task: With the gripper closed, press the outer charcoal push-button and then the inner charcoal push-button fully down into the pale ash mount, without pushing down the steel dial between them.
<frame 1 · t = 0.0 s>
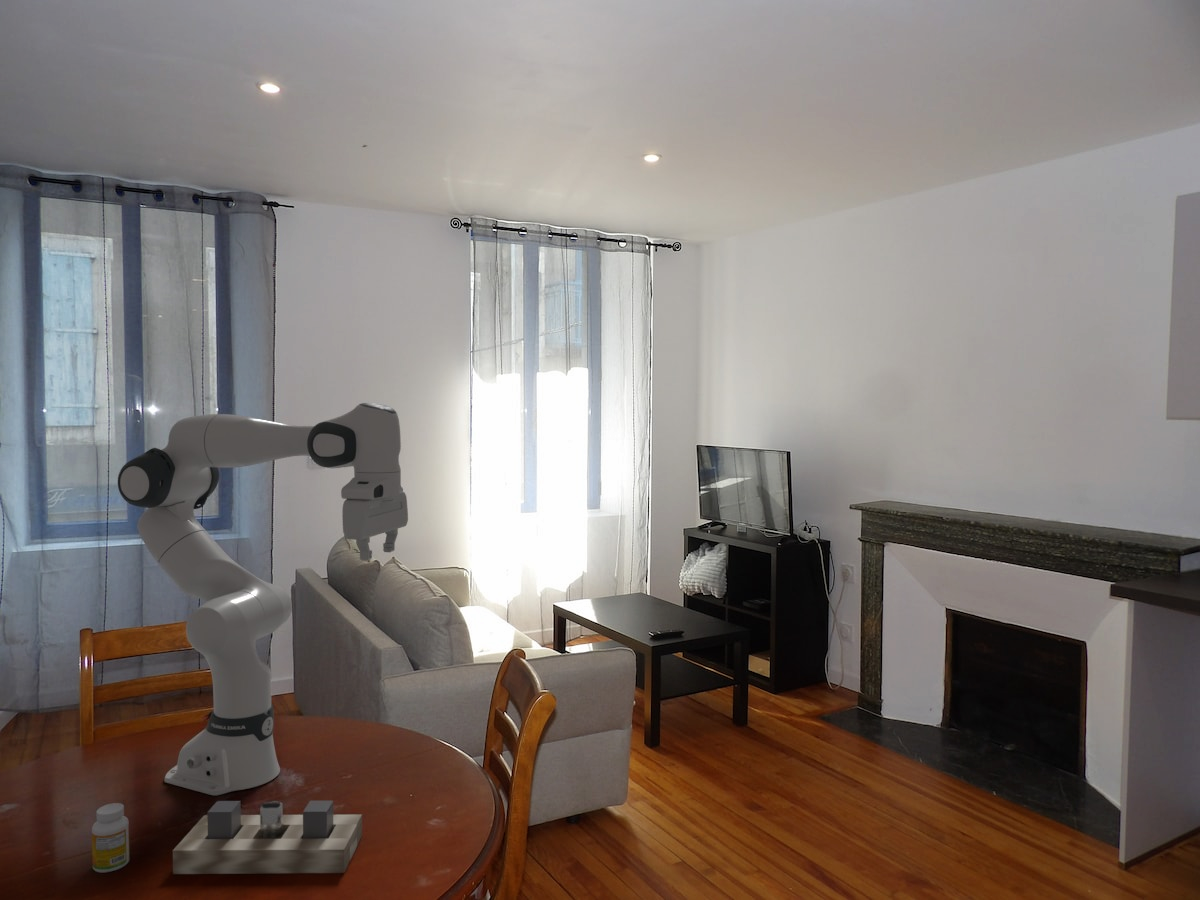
hand: (377, 555, 166), 48 cm above the table, tool pointing down, fingers open, 8 cm apart
steel dial: (271, 818, 145), point 6 cm above the table, slide at 0.0 cm
mount: (271, 854, 146), on the table
supplement bottle: (111, 865, 142), on the table
outer button: (318, 820, 146), point 6 cm above the table, slide at 0.0 cm
inner button: (224, 820, 145), point 6 cm above the table, slide at 0.0 cm
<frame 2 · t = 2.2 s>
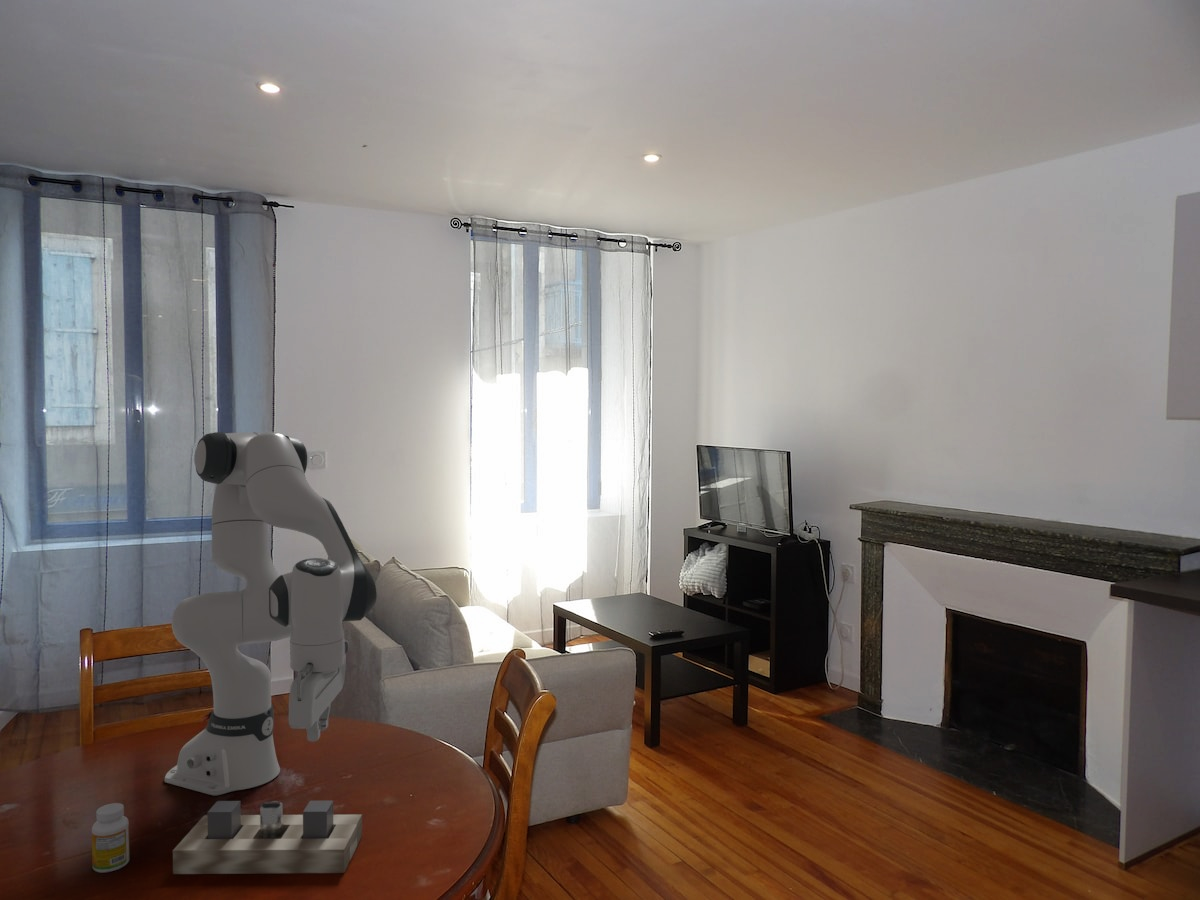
hand: (317, 734, 145), 21 cm above the table, tool pointing down, fingers open, 3 cm apart
nothing on the table moved.
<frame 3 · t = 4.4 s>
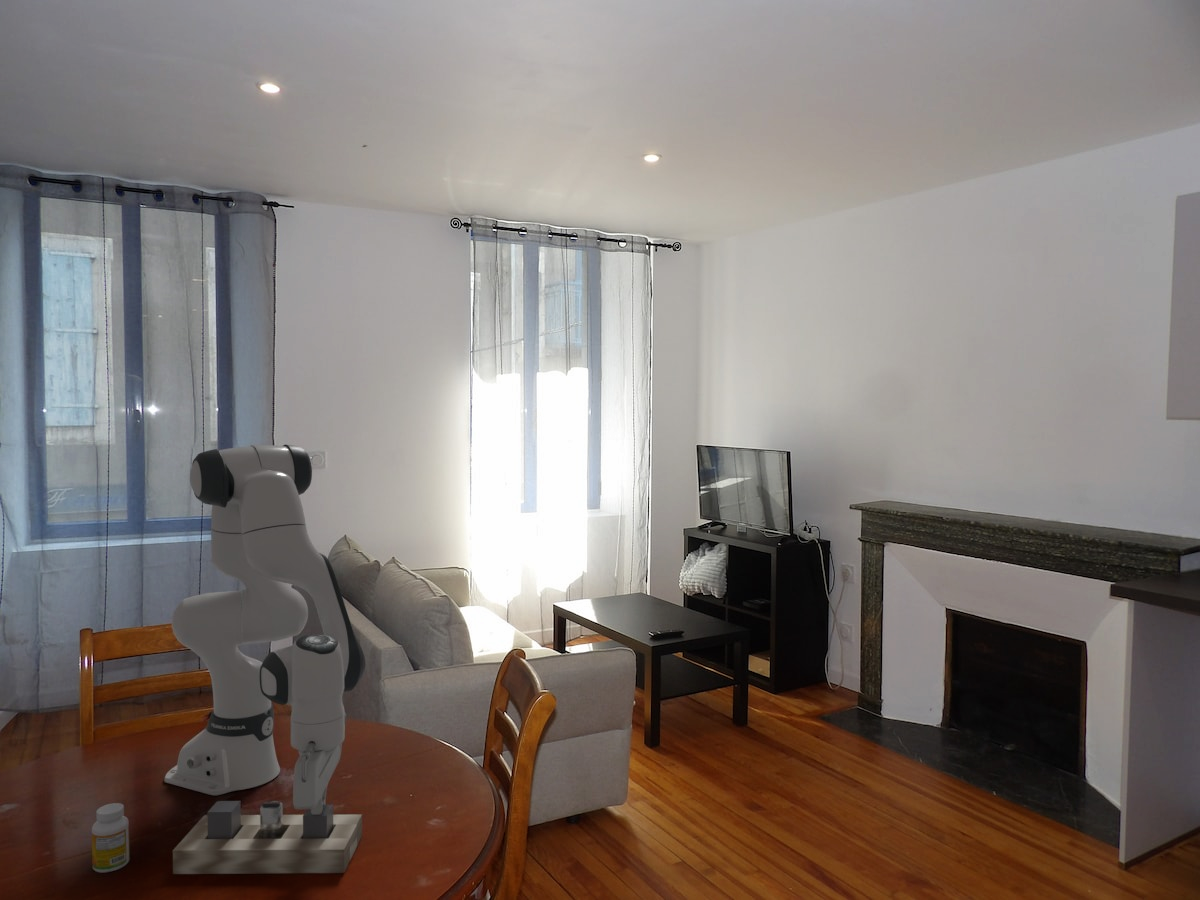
hand: (318, 810, 145), 8 cm above the table, tool pointing down, fingers closed
outer button: (318, 824, 146), point 5 cm above the table, slide at 0.7 cm, touching gripper
everything else where it was.
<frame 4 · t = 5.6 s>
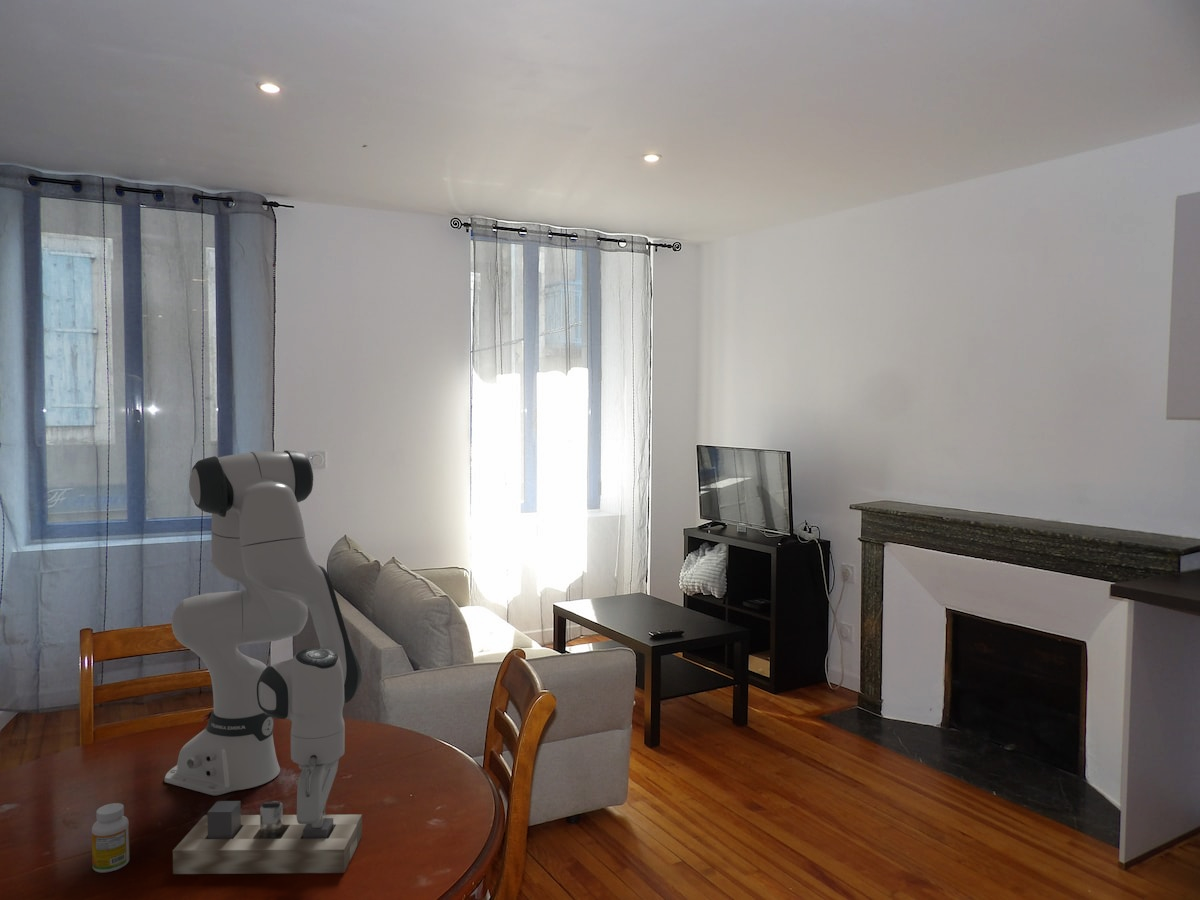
hand: (318, 823, 146), 5 cm above the table, tool pointing down, fingers closed
outer button: (318, 837, 146), point 3 cm above the table, slide at 3.2 cm
everything else where it was.
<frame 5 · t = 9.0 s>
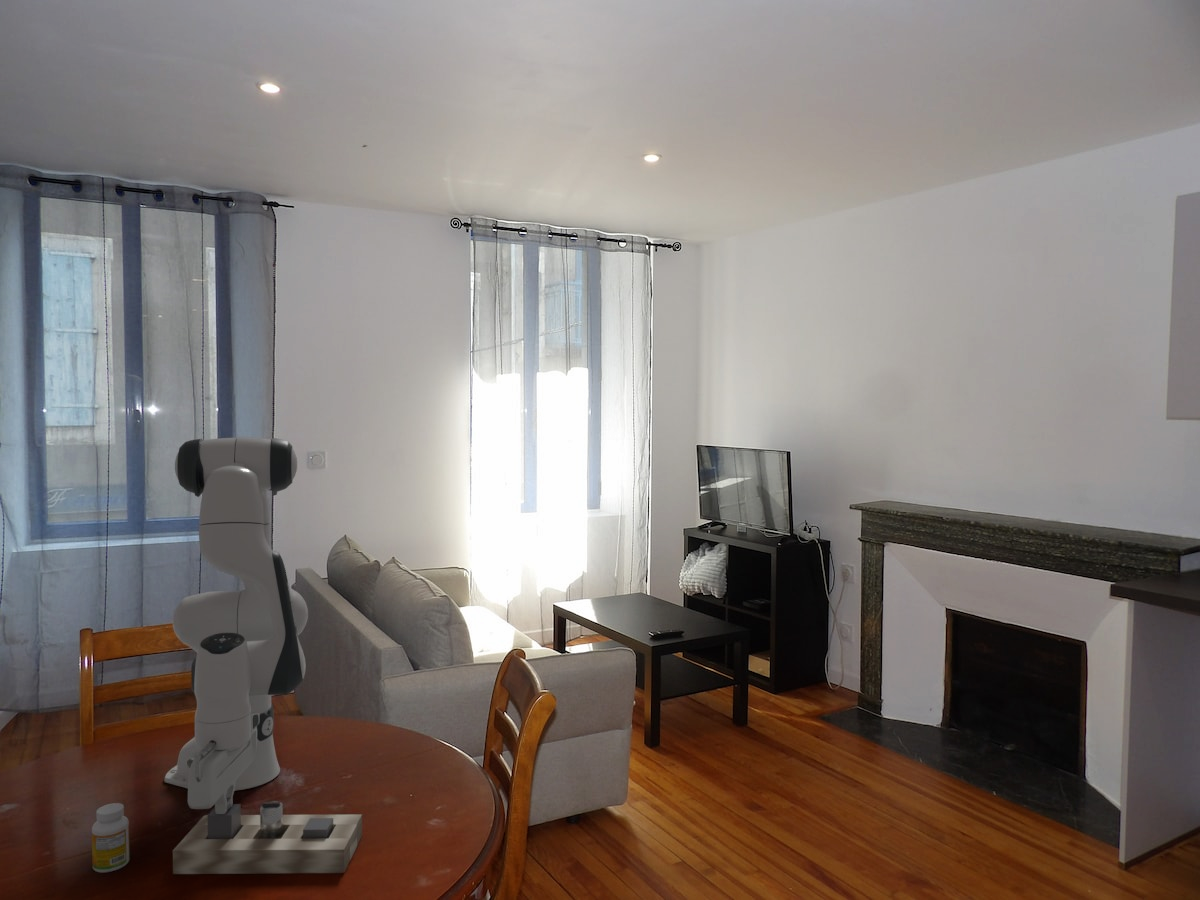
hand: (224, 810, 145), 8 cm above the table, tool pointing down, fingers closed, pressing on inner button
inner button: (224, 823, 145), point 5 cm above the table, slide at 0.6 cm, touching gripper
everything else where it was.
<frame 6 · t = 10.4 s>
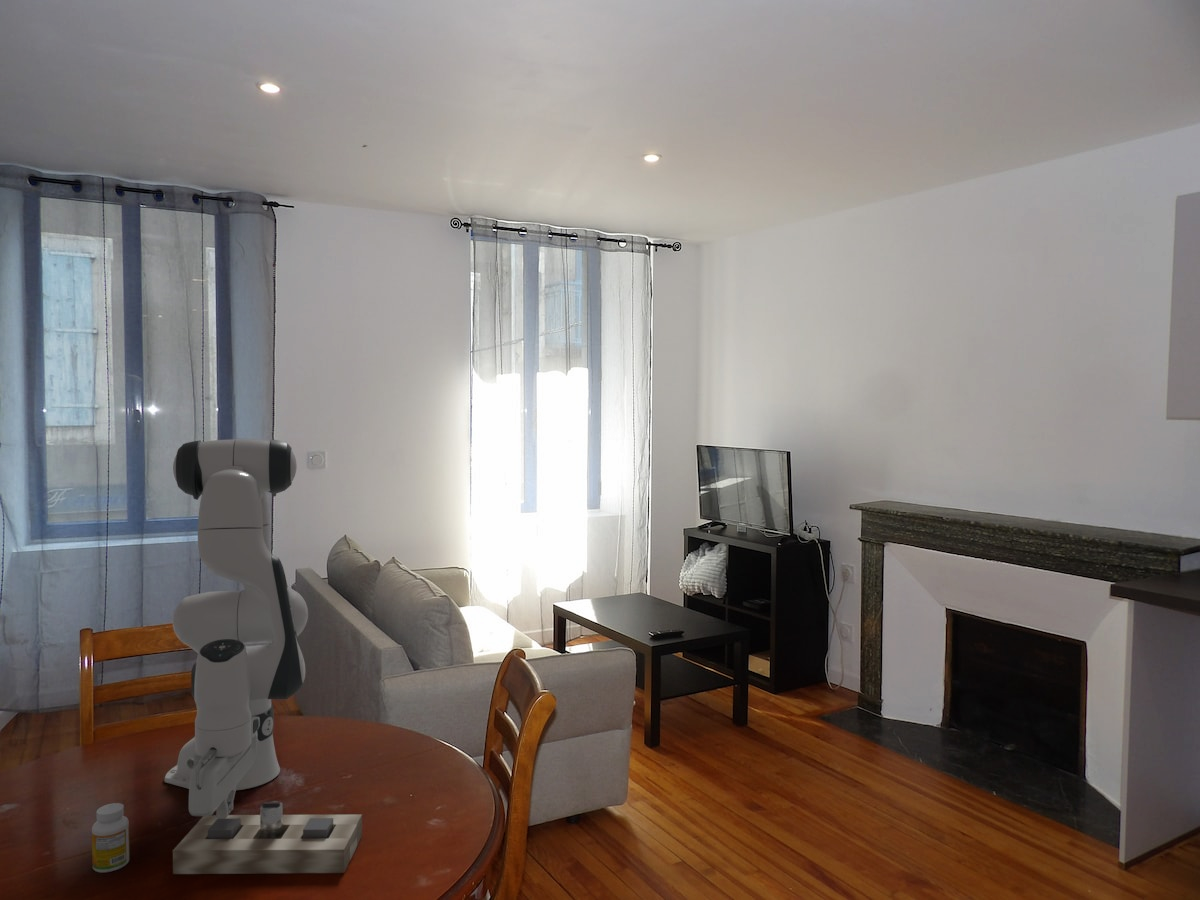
hand: (224, 814, 146), 7 cm above the table, tool pointing down, fingers closed
inner button: (224, 838, 145), point 3 cm above the table, slide at 3.2 cm
everything else where it was.
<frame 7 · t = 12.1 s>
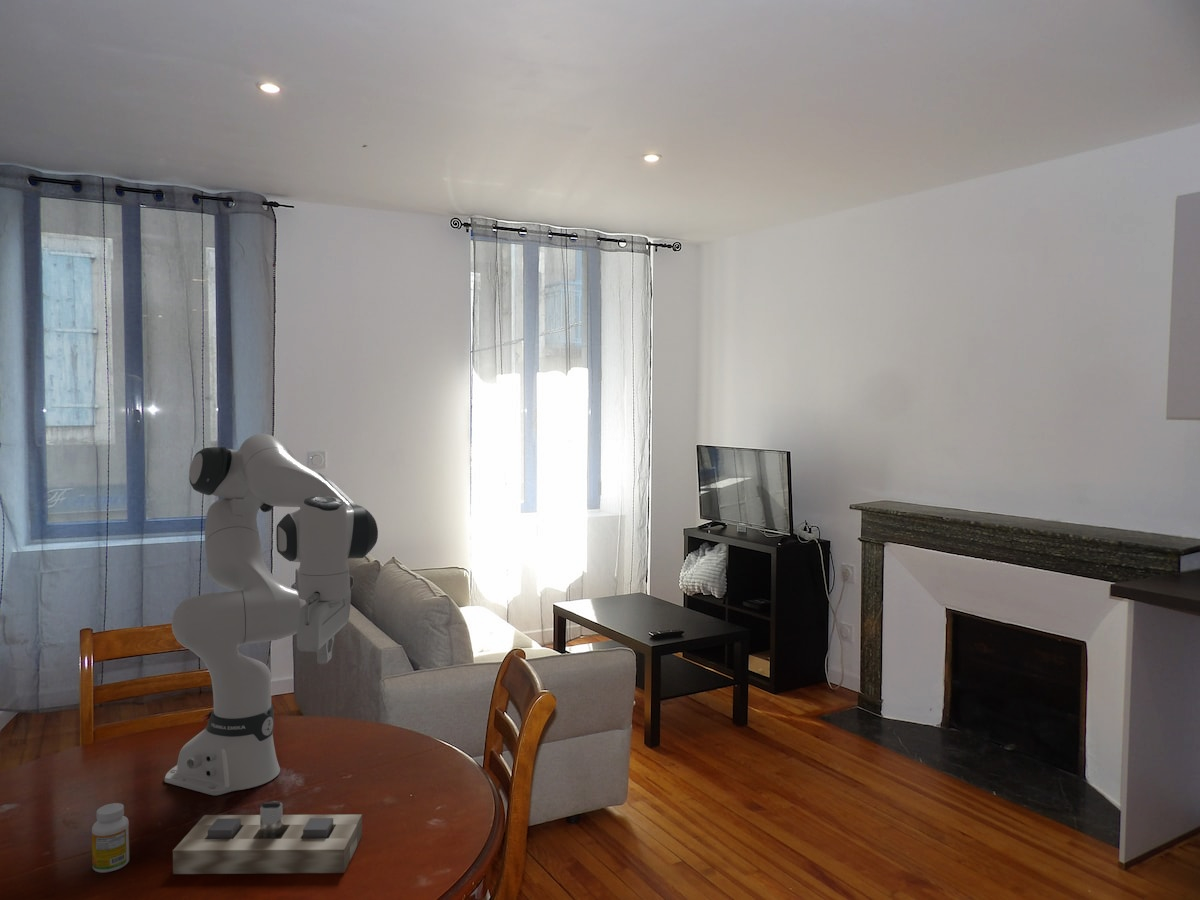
hand: (324, 661, 154), 31 cm above the table, tool pointing down, fingers closed
nothing on the table moved.
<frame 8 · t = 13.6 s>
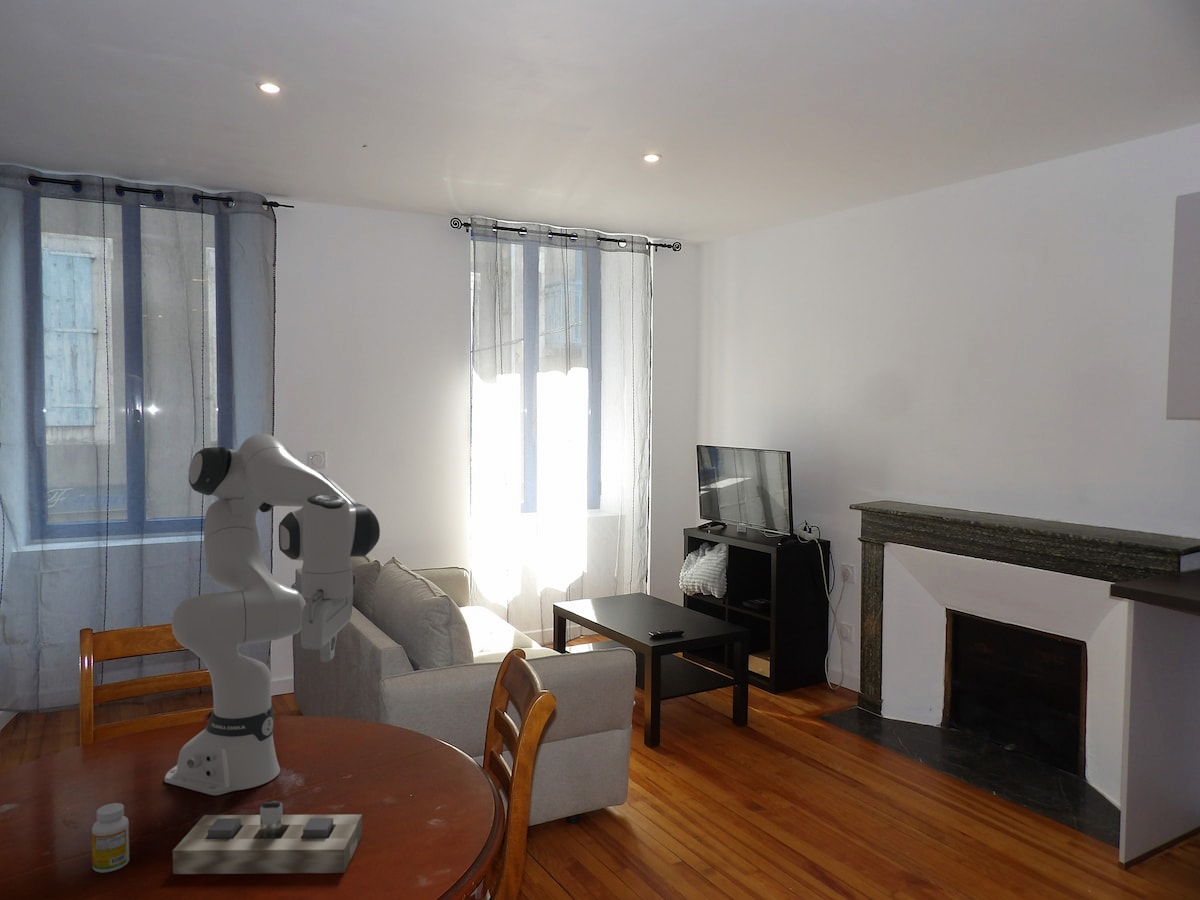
hand: (327, 659, 154), 31 cm above the table, tool pointing down, fingers closed
nothing on the table moved.
at the end: outer button slide at 3.1 cm; inner button slide at 3.2 cm; steel dial slide at 0.0 cm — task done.
